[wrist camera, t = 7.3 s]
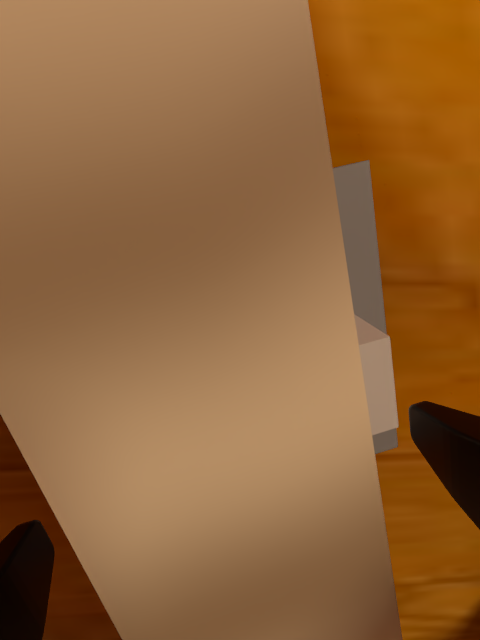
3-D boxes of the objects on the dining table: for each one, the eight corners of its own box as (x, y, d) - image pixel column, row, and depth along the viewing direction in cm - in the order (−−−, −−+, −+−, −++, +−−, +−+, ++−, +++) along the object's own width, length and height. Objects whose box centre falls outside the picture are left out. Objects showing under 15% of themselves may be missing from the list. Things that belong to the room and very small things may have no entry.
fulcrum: (386, 433, 18) (463, 518, 13) (87, 526, 16) (53, 656, 12) (355, 162, 14) (450, 144, 9) (-41, 258, 12) (-171, 294, 8)
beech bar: (346, 638, 14) (435, 863, 9) (242, 676, 14) (278, 930, 9) (196, -26, 7) (241, -449, 2) (-16, 19, 7) (-423, -371, 2)
